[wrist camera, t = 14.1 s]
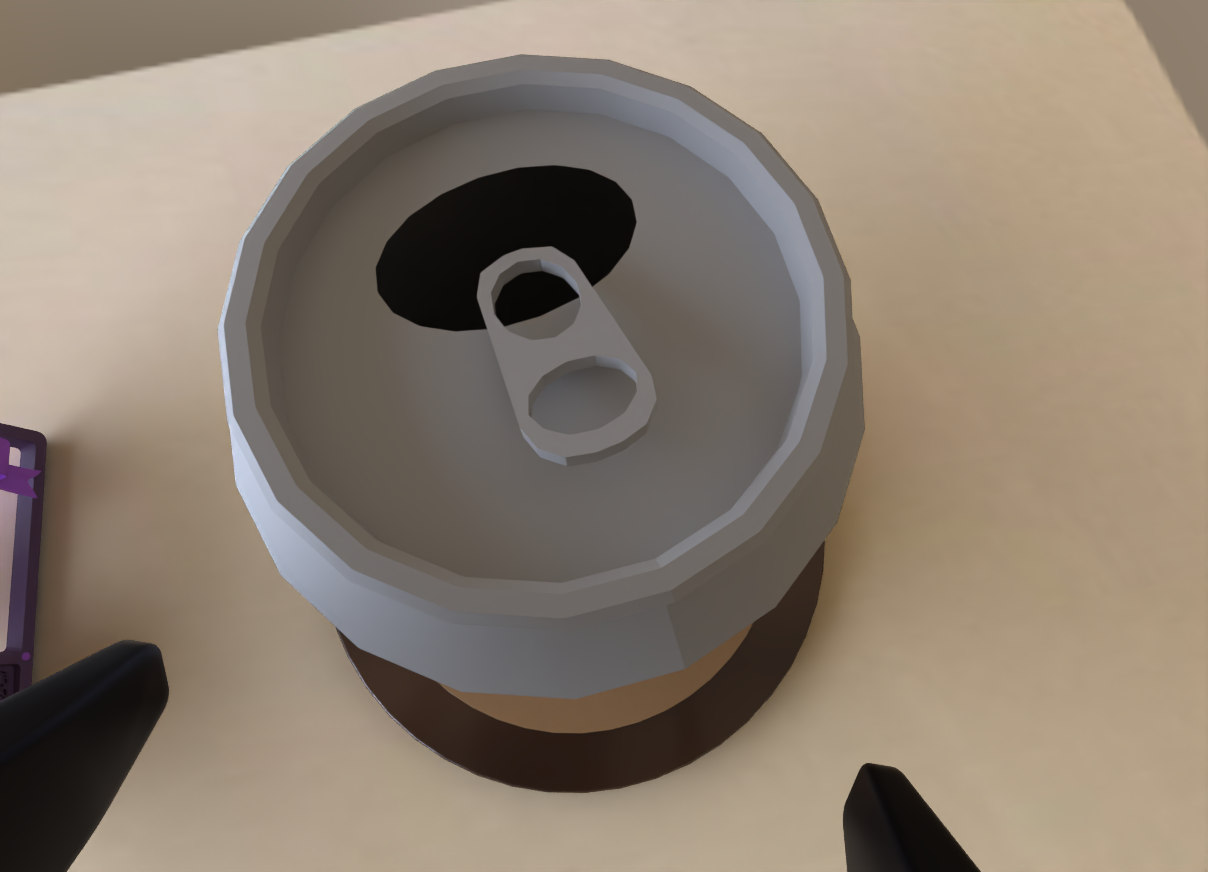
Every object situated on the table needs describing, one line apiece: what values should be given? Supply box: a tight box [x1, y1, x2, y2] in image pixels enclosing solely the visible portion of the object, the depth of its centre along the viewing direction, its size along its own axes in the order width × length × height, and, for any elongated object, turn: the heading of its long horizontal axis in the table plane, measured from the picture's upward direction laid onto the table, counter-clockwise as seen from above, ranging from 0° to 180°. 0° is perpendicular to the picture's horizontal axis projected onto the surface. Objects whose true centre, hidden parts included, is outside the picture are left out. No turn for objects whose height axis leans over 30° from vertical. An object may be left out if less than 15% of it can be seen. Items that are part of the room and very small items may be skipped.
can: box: [218, 54, 865, 699], centre depth 12 cm, size 8×8×12 cm
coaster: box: [335, 540, 825, 793], centre depth 19 cm, size 13×13×1 cm
